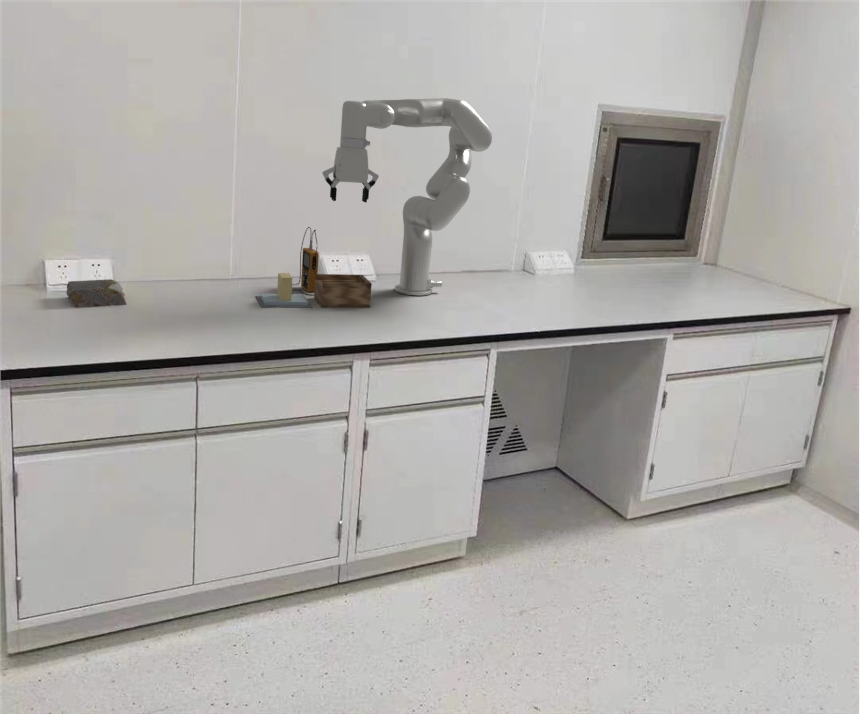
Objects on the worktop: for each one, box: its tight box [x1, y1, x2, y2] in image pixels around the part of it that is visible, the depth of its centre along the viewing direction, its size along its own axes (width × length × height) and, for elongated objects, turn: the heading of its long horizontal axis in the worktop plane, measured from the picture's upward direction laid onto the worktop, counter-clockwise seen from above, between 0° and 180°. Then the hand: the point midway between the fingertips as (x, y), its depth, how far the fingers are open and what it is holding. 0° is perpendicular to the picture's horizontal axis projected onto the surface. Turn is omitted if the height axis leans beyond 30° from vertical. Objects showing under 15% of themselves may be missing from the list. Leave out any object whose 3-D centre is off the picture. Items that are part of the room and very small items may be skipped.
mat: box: [255, 295, 313, 309], centre depth 260 cm, size 15×12×1 cm
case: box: [313, 273, 373, 309], centre depth 265 cm, size 15×11×8 cm
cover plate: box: [259, 272, 310, 305], centre depth 259 cm, size 13×9×8 cm
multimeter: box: [292, 226, 320, 296], centre depth 273 cm, size 15×10×20 cm
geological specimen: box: [66, 278, 127, 308], centre depth 241 cm, size 11×6×15 cm
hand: (349, 201), depth 264 cm, fingers open, 9 cm apart
